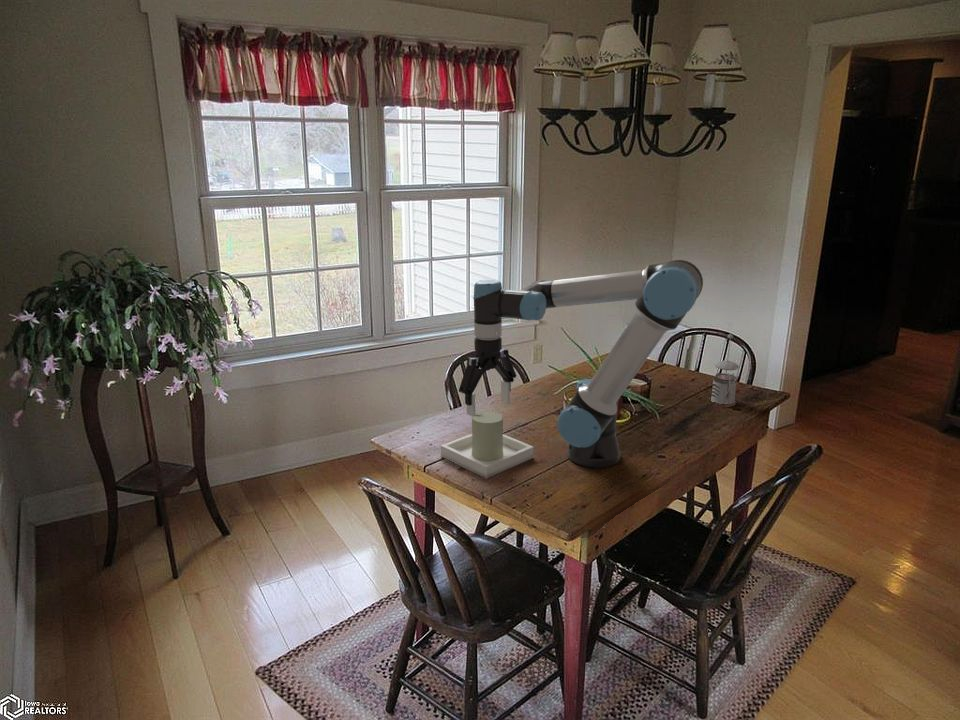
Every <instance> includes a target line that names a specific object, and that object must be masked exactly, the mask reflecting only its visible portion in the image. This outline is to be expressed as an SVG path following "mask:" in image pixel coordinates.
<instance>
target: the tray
mask: <svg viewBox="0 0 960 720" xmlns="http://www.w3.org/2000/svg"><path fill="white" fill-rule="evenodd" d="M441 456H442V458H443V457H444V458H443V459H445V458H446V459H445V460H447V459H448V460H447V461H449V460H450V461H449V462H451V461H452V462H451V463H453V462H454V464H455V465H457V464H458V466H459V465H460V466H459V467H461V466H462V467H461V468H462V469H463V468H464V469H466V470H468V471H470V472H471V473H473V474H476V475H477V476H480V477H482V478H483V479H486V480H487V479H489V478H491V477H494V476H495V475H497V474H500V473H502V472H504V471H506V470H509V469H512V468H513V467H516V466H519V465H520V464H523V463H525V462H527V461H529V460H532V459H534V446H532V445H530V444H528V443H526V442H523V441H521V440H518V439H516V438H513V437H511V436H509V435H507V434H504V433H503V456H502V457H501V458H499V459H496V460H490V461H485V460H479V459H476V458H474V457H473V456H472V433H469V434H467V435H464V436H462V437H459V438H457V439H454V440H452V441H449V442H446V443H443V444H441V445H440V457H441Z"/></svg>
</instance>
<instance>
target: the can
mask: <svg viewBox="0 0 960 720" xmlns="http://www.w3.org/2000/svg"><path fill="white" fill-rule="evenodd" d="M471 434H472V456H473V457H474V458H476V459H479V460H485V461H490V460H496V459H499V458H501V457H502V456H503V434H504V415H503V414H501V413H500V412H496V411H493V410H492V411H491V410H490V411H488V410H486V411H478V412H475V416H474V417H473V416H471Z"/></svg>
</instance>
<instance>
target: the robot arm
mask: <svg viewBox="0 0 960 720" xmlns="http://www.w3.org/2000/svg"><path fill="white" fill-rule="evenodd" d="M502 284H503V283H502V282H501V281H499V280H496V279H482V280H478V281H475V283H474V286H473V297H472V299H473V312H474V313H473V314H474V315H473V317H474V319H473V321H474V322H473V323H474V324H473V327H474V328H473V329H474V331H473V332H474V336H475V337H474V341H473V342H474V351H475V354H476V355H475V357H467V360H466V366H465V370H464V372H463V376H462V380H461V382H460V385H459V388H458V392H459V393H461V394H464V404H465V405H466V415H468V416H471V417H472V416H473V417H474V416H475V413H476V394H475V393H474V391H475V389H476V388H477V386H478V384H479V382H480V380H481V378H482V377H483V375H484V374H485V373H486V371H487V372H488V371H490V370H494V369H495V371H496V372H497V373H498V374H499V376H501V378H502V380H500V403H502V404H503V403H504V404H506V405H509V404H510V398H511V393H510V392H511V389H512V388H511V387H512V385H511V384H512V383H513V382H514V381H515V380H514V379H515V378H517V374H516V372H515V371H516V370H515V369H514V366H513V364H512V362H511V359H510V356H509V355H510V354H509V350H508V349H506V348H503V344H502V335H503V333H502V330H503V329H502V328H503V327H502V326H503V325H502V322H503V320H502V318H506V319H507V318H508V319H516V320H525V321H540V320H542V319H543V318H544V315H546V311H547V309H554V308H562V307H572V306H573V307H574V306H582V305H592V304H601V303H602V304H605V303H613V302H621V301H622V302H623V301H625V302H626V301H632V300H634V301H635V302H634V307H635V313H634V315H633V316H632V317H631V320H630V321H629V323H628V324H627V325H626V327H625V328H624V330H623V331H622V333H621V335H620V336H619V337H618V339H617V340H616V342H615V343H614V345H613V347H612V348H611V349H610V351H609V353H608V354H607V356H606V357H605V358H604V360H603V361H602V363H601V365H600V366H599V368H598V369H597V371H596V372H595V374H594V375H593V376H592V378H588V379H587V378H585V379H580V380H579V381H577V384H576V388H575V389H576V391H575V394H574V395H573V396H572V398H571V399H570V401H568V404H567V405H566V407H565V408H564V409H562V410H561V412H559V416H558V418H557V423H556V424H557V430H558V433H559V435H560V436H561V439H563V441H565V442H566V443H567V444H568V446H567V457H568V459H569V460H571V462H573V463H575V464H577V465H580V466H583V467H588V468H600V469H601V468H609V467H611V466H615V465H616V464H618V463H619V462H620V461H621V449H620V445H619V442H618V438H617V417H618V406H619V405H618V404H619V403H618V402H619V399H620V398H621V396H622V395H623V393H624V392H625V391H626V390H627V388H628V386H629V385H630V384H631V383H632V381H633V379H634V378H635V377H636V375H637V374H638V372H639V371H640V369H641V368H642V366H643V365H644V363H645V362H646V361H647V359H648V358H649V356H650V355H651V354H652V353H653V351H654V350H655V348H656V347H657V345H658V343H659V342H660V341H661V339H662V338H663V337H664V335H665V334H666V332H668V331H673V330H676V329H677V328H678V326H679V325H680V323H681V322H682V321H683V318H685V317H686V315H687V313H688V312H689V311H690V310H691V309H692V308H693V306H694V305H695V303H696V301H697V300H698V298H699V296H700V295H701V293H702V290H703V285H704V278H703V274H702V272H701V271H700V269H699V267H697V266H696V265H695V264H694V263H692V262H690V261H688V260H684V259H675V260H670V261H665V262H661V263H656V264H648V265H647V266H646V267H645V269H639V270H629V271H623V272H622V271H621V272H620V271H619V272H613V273H606V274H596V275H589V276H588V275H586V276H578V277H573V278H563V279H556V280H546V279H541V280H536V281H534V282H532V283H531V284H529V285H527V286H526V287H523V288H522V289H520V290H517V289H516V290H515V289H506V288H503V285H502ZM500 360H501V361H500Z"/></svg>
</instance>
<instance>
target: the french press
mask: <svg viewBox="0 0 960 720" xmlns="http://www.w3.org/2000/svg"><path fill="white" fill-rule="evenodd" d="M727 338H728V339H729V342H728V350H727V351H728V353H727V358H726V360H720V361H717V362H716V363H714V367H715V368H716V369H719V370H722V371H723V370H725V372H724V373H716V374H715V375H714V377H715V378H713V381H712V389H711V391H712V392H711V395H710V396H711V397H710V398H711V401H712V402H716V403H719V404H732V403H735V402H736V400H735V399H736V392H737V391H736V390H737V383H738V381H737V380H736V379H737V377H736V376H735V373H732V374H731V373H727V371H737V370H738V369H739V368H740V366H739V364H737V363H736V362H734V361H731V360H729V356H730V355H729V353H730V347H731V339H733V338H734V335H733V334H728V335H727Z"/></svg>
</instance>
